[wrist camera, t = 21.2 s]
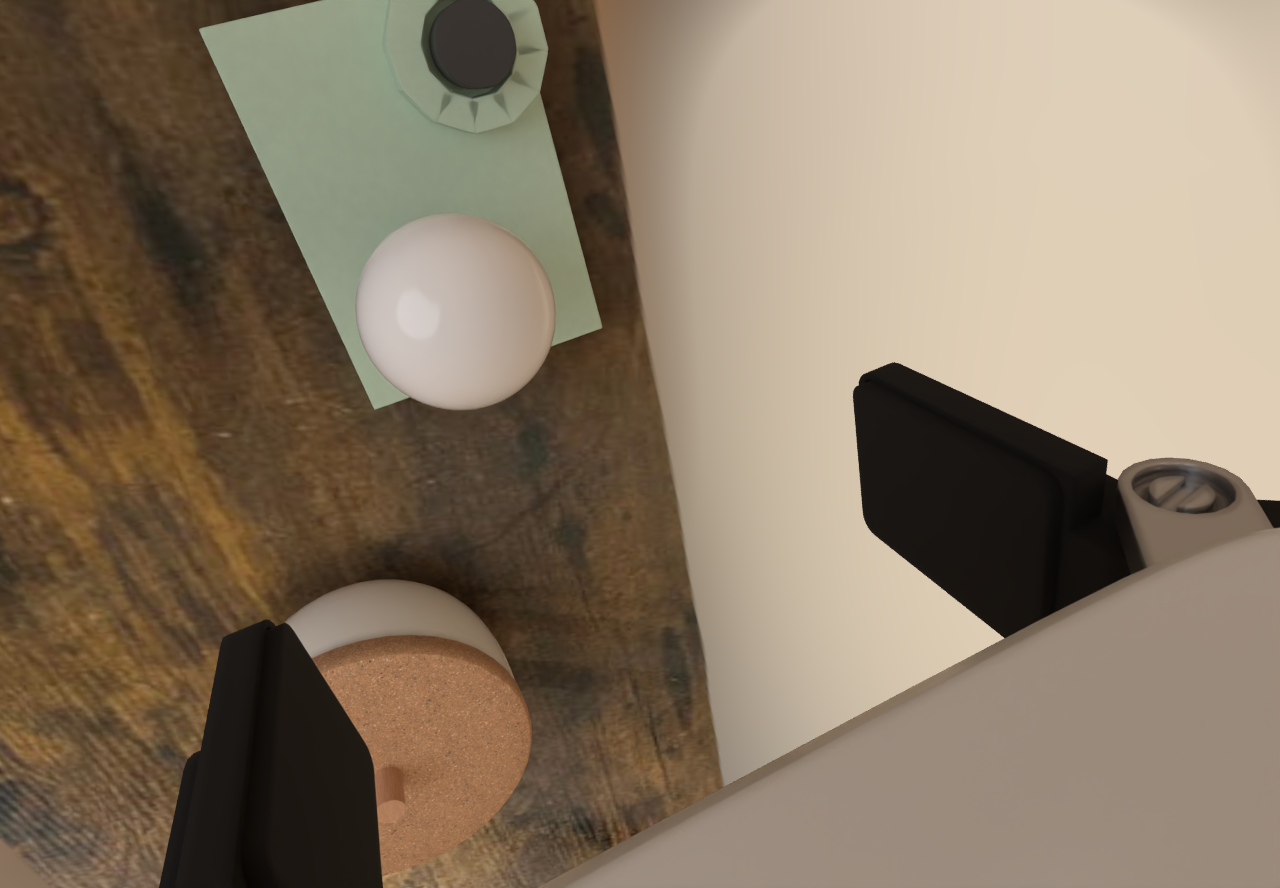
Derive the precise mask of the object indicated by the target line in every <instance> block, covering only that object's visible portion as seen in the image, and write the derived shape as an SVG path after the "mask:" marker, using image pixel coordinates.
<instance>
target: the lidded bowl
mask: <svg viewBox="0 0 1280 888" xmlns="http://www.w3.org/2000/svg"><path fill="white" fill-rule="evenodd" d="M284 623H287V624H289V625H290V626H291V627H292V629H293V630H294V632H295V633H296V635H297V636H298V638H299V640H300V641H301V643H302V644H303V646H304V647H305V649H306V651H307V652H308V654H309V655H310V657H311V658H312V660H313V662H314V663H315V665H316V666H317V668H318V669H319V671H320V673H321V674H322V676H323V677H324V679H325V680H326V682H327V684H328V685H329V687H330V688H331V690H332V691H333V693H334V695H335V696H336V698H337V699H338V701H339V702H340V704H341V706H342V707H343V709H344V710H345V712H346V713H347V715H348V717H349V718H350V720H351V721H352V723H353V724H354V726H355V728H356V729H357V731H358V732H359V734H360V735H361V737H362V739H363V740H364V742H365V743H366V745H367V747H368V749H369V752H370V754H371V757H372V761H373V765H374V774H375V788H376V801H377V815H378V829H379V842H380V856H381V869H382V876H384V875H388V874H391V873H394V872H398V871H401V870H404V869H408V868H410V867H413V866H416V865H418V864H421V863H423V862H426V861H429V860H431V859H433V858H435V857H436V856H438V855H440V854H442V853H444V852H446V851H448V850H450V849H451V848H453V847H455V846H456V845H458V844H459V843H461V842H463V841H464V840H466V839H467V838H469V837H470V836H471V835H472V834H474V833H475V832H476V831H477V830H479V829H480V828H481V827H482V826H484V825H485V824H486V823H487V822H488V821H489V820H490V819H491V818H492V817H493V816H494V815H495V814H496V813H497V812H498V811H499V810H500V809H501V807H502V806H503V805H504V804H505V802H506V801H507V800H508V798H509V797H510V796H511V794H512V793H513V791H514V789H515V788H516V786H517V784H518V783H519V781H520V779H521V777H522V775H523V772H524V770H525V767H526V765H527V762H528V759H529V754H530V750H531V745H532V726H531V721H530V716H529V711H528V708H527V705H526V702H525V700H524V698H523V695H522V693H521V691H520V689H519V686H518V684H517V683H516V681H515V679H514V677H513V674H512V671H511V669H510V666H509V664H508V662H507V660H506V657H505V655H504V653H503V651H502V649H501V648H500V646H499V644H498V642H497V640H496V639H495V637H494V636H493V635H492V633H491V632H490V630H489V629H488V628H487V626H486V625H485V624H484V623H483V621H482V620H481V619H480V618H479V616H478V615H476V614H475V613H474V612H473V611H472V610H471V609H470V608H469V607H468V606H466V605H465V604H464V603H462V602H461V601H459V600H458V599H456V598H455V597H453V596H451V595H450V594H448V593H447V592H444V591H442V590H440V589H437V588H435V587H432V586H429V585H425V584H421V583H417V582H413V581H407V580H397V579H380V580H371V581H364V582H359V583H355V584H351V585H348V586H344V587H341V588H339V589H336V590H334V591H331V592H329V593H327V594H325V595H323V596H321V597H319V598H318V599H316V600H314V601H312V602H311V603H309V604H307V605H305V606H304V607H302V608H301V609H300V610H299V611H297V612H296V613H295V614H293V615H292V616H291V617H289V618H288V619H287V620H286V621H285V622H284Z"/></svg>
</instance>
